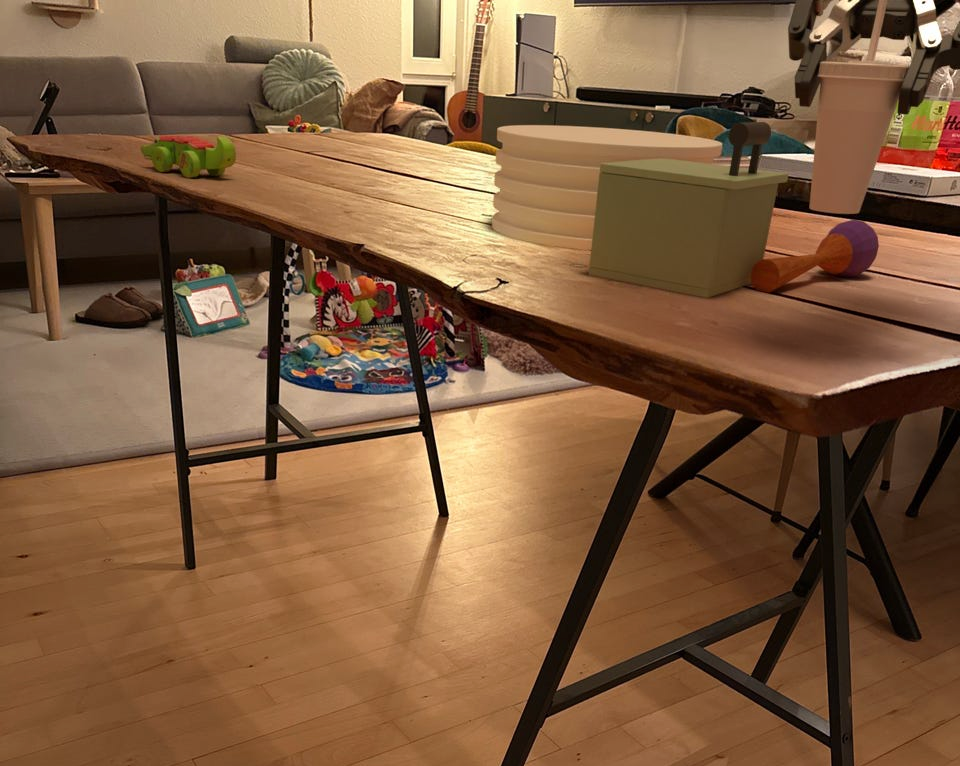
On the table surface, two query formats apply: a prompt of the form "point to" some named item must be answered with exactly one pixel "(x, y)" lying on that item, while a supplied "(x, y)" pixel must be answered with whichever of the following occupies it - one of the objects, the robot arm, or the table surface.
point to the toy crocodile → (190, 155)
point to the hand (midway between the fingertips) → (853, 100)
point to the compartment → (679, 233)
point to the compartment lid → (709, 173)
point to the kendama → (823, 257)
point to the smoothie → (852, 125)
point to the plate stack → (571, 176)
